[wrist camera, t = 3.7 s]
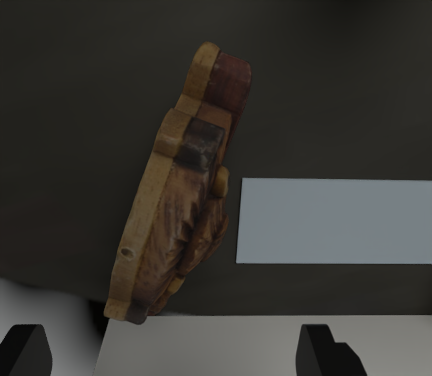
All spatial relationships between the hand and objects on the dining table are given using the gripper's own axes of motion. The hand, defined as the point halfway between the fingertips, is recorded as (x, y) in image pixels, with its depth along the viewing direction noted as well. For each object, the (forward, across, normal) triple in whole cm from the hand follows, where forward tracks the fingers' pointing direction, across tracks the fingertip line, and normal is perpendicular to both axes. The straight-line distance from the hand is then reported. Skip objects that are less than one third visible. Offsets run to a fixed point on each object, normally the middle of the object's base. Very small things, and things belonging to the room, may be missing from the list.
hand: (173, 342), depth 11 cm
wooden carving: (+13, +1, 0) cm, 13 cm away
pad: (+13, -12, +4) cm, 18 cm away
